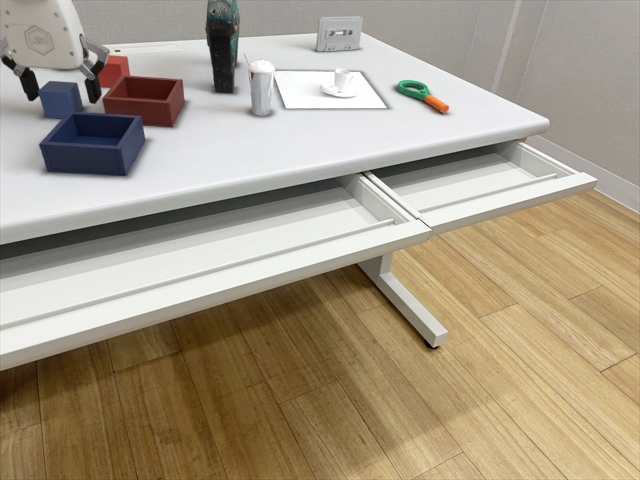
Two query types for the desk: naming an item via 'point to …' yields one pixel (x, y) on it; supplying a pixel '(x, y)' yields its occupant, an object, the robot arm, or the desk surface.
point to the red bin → (146, 99)
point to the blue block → (60, 98)
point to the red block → (113, 70)
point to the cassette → (338, 41)
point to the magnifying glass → (422, 94)
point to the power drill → (223, 42)
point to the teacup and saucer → (326, 90)
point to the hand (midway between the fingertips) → (65, 99)
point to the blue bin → (93, 143)
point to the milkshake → (261, 86)
